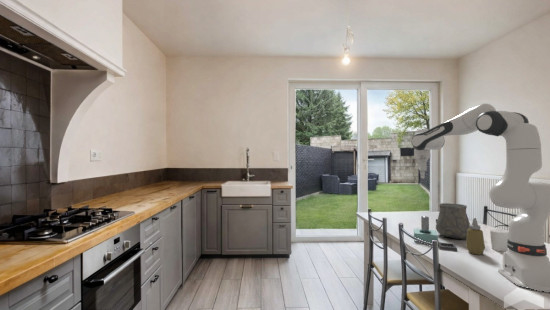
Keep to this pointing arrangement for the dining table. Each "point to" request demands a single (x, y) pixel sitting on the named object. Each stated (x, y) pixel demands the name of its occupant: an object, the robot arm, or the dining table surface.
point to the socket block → (426, 235)
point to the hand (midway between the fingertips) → (422, 177)
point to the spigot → (424, 224)
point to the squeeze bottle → (475, 239)
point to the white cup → (499, 239)
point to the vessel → (452, 221)
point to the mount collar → (453, 247)
